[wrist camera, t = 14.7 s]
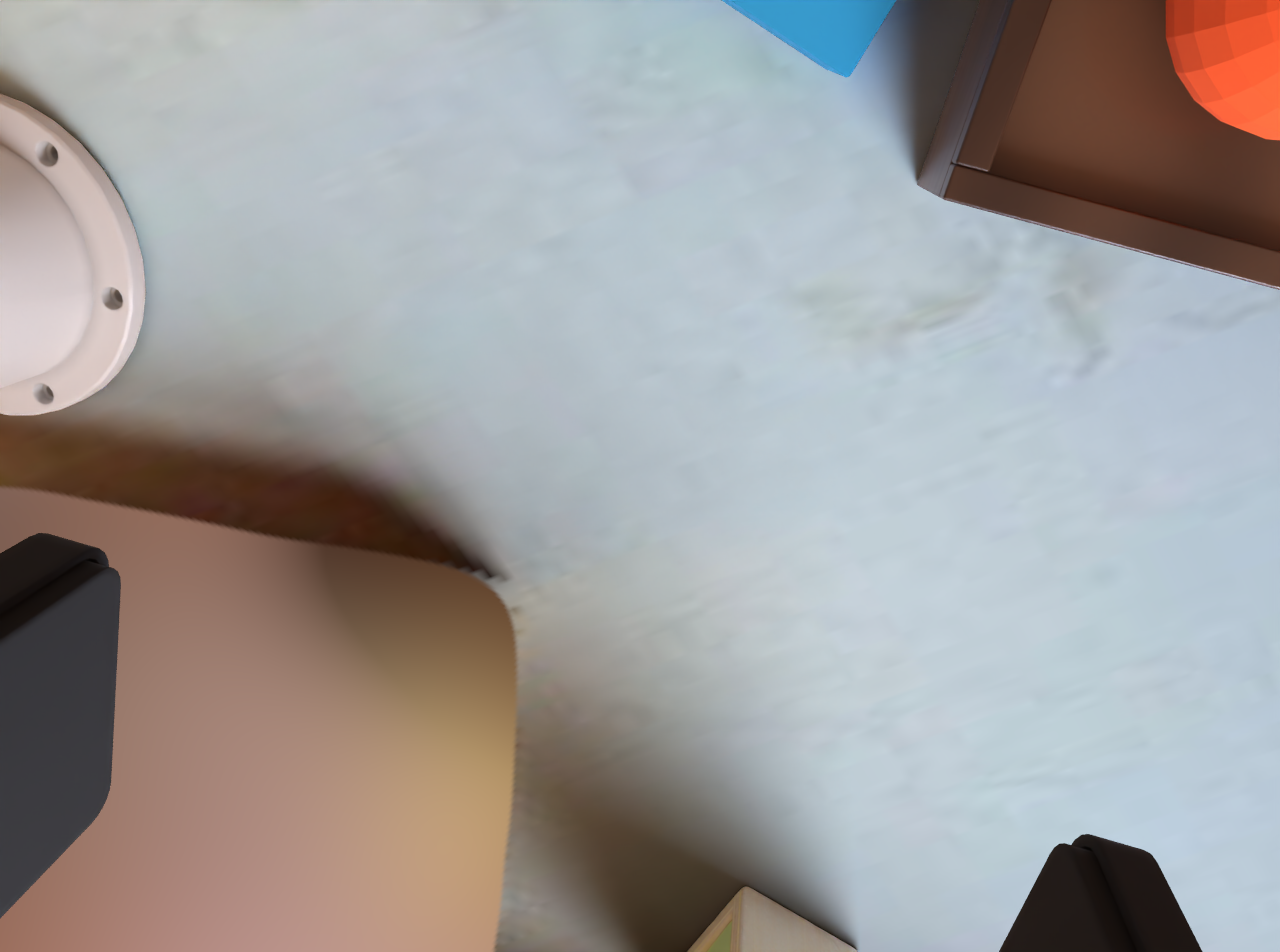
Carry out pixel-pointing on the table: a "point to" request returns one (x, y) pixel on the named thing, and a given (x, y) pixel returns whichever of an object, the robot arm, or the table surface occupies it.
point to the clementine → (1229, 59)
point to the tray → (1103, 139)
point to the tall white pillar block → (764, 929)
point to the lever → (821, 27)
